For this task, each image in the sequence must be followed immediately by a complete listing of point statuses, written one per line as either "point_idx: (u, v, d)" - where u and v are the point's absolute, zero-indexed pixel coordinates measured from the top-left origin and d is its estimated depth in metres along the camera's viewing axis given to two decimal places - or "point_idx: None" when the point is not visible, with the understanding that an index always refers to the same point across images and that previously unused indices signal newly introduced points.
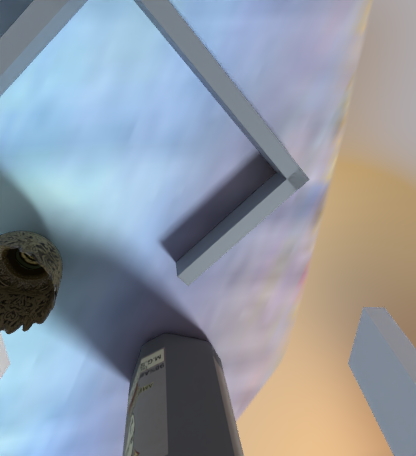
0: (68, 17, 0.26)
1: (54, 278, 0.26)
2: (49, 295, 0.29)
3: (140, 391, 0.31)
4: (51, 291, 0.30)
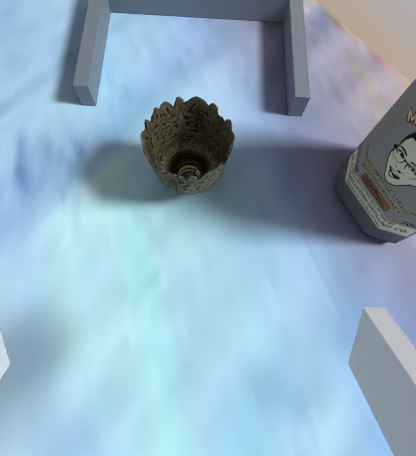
0: (104, 37, 0.39)
1: (213, 109, 0.29)
2: (223, 157, 0.30)
3: (366, 156, 0.28)
4: (222, 158, 0.31)
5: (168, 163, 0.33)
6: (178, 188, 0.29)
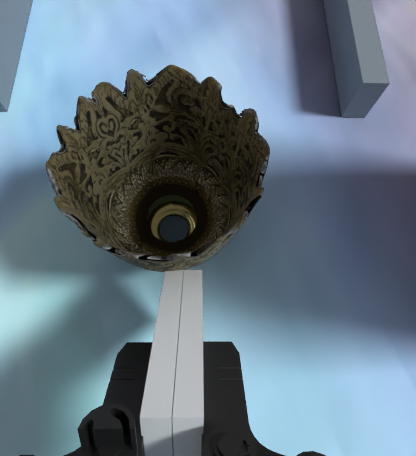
0: None
1: None
2: (240, 190, 0.15)
3: None
4: (238, 190, 0.15)
5: (132, 207, 0.17)
6: (151, 269, 0.13)
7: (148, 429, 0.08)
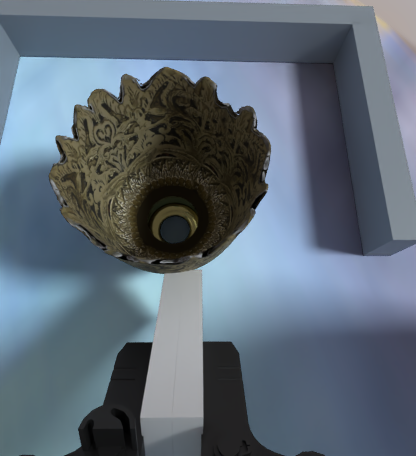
0: (1, 107, 0.20)
1: None
2: (241, 187, 0.15)
3: None
4: (238, 188, 0.15)
5: (133, 212, 0.17)
6: (160, 272, 0.13)
7: (148, 429, 0.08)
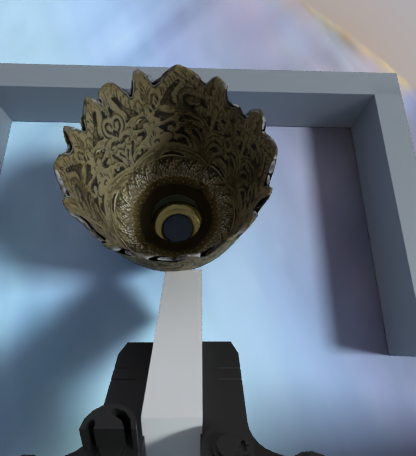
0: None
1: None
2: (246, 189, 0.15)
3: None
4: (243, 190, 0.15)
5: (136, 208, 0.17)
6: (159, 269, 0.13)
7: (149, 429, 0.08)
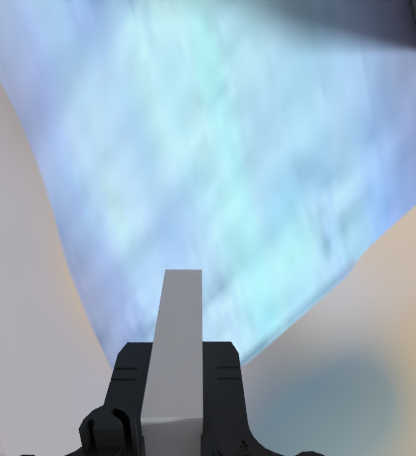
0: None
1: None
2: None
3: None
4: None
5: None
6: None
7: (149, 429, 0.08)
